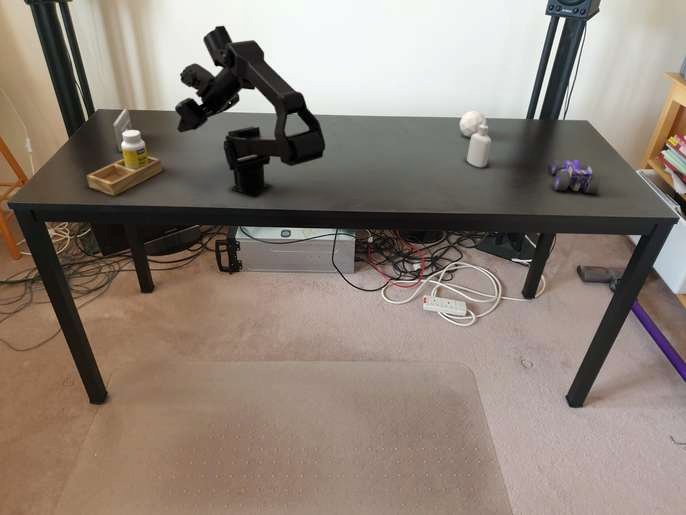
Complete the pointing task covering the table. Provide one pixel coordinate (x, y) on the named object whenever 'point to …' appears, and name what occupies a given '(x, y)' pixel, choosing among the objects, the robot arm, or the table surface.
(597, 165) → the table surface
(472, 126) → the geometric ball
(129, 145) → the supplement bottle
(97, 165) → the table surface
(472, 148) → the eye dropper bottle
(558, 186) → the toy race car
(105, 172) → the tray
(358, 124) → the table surface
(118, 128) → the cassette
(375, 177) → the table surface
